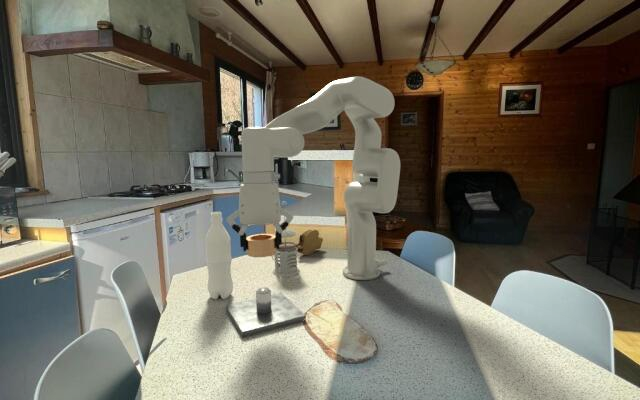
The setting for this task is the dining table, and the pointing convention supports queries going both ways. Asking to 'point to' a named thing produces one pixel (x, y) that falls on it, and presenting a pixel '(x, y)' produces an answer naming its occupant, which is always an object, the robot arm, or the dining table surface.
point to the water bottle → (218, 258)
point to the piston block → (263, 313)
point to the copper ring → (261, 245)
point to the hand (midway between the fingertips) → (261, 248)
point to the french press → (286, 255)
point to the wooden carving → (309, 242)
